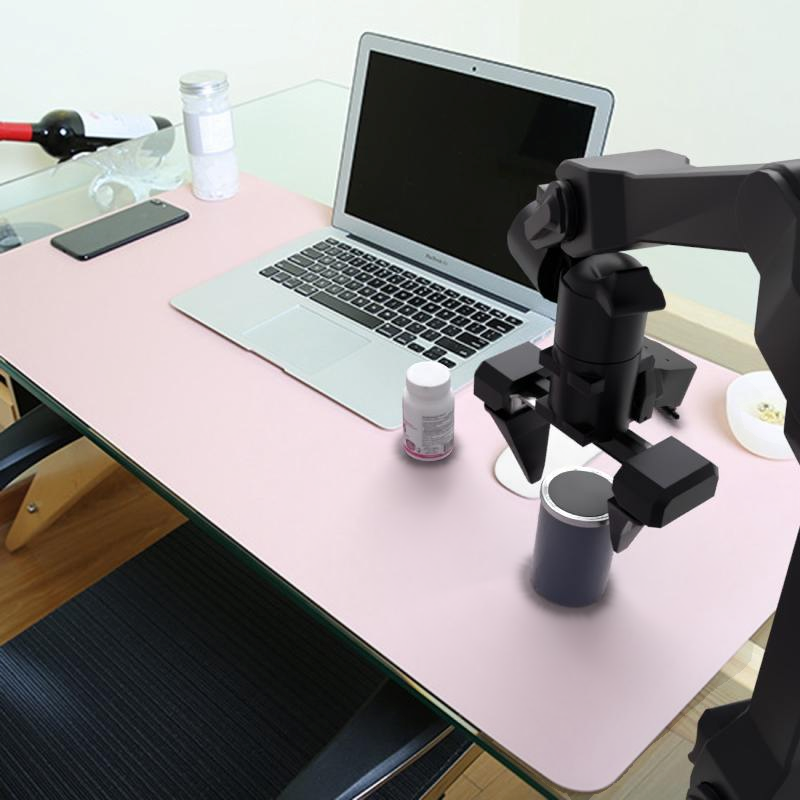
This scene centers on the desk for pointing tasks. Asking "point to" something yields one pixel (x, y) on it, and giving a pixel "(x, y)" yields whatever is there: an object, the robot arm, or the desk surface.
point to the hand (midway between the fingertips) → (575, 514)
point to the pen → (670, 411)
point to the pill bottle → (428, 412)
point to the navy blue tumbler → (573, 537)
